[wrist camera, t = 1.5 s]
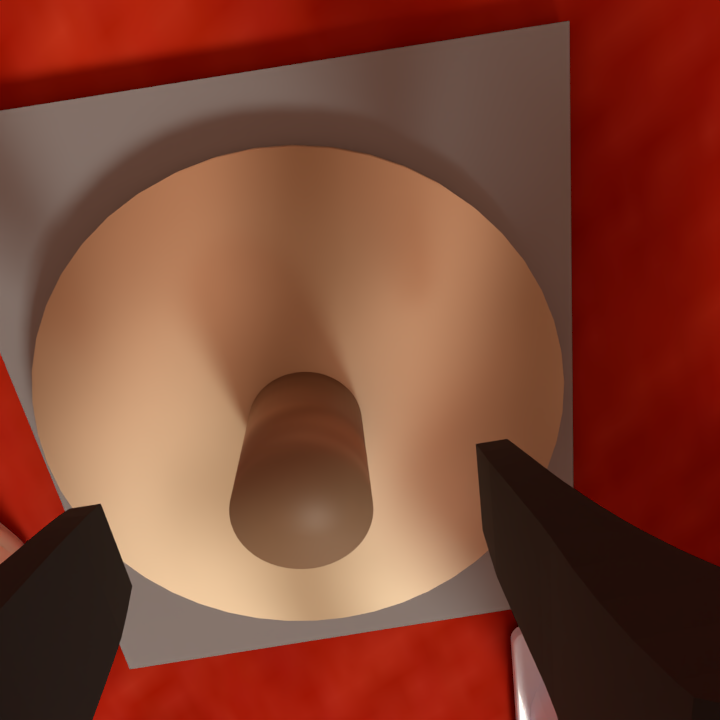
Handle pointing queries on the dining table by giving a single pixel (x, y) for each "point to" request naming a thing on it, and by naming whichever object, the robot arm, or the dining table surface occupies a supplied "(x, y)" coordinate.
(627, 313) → the dining table surface
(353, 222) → the lid
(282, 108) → the mat
